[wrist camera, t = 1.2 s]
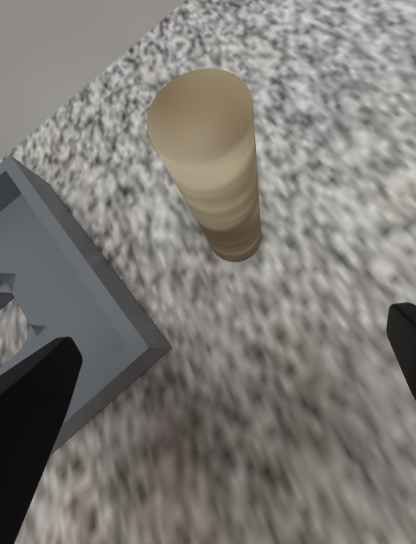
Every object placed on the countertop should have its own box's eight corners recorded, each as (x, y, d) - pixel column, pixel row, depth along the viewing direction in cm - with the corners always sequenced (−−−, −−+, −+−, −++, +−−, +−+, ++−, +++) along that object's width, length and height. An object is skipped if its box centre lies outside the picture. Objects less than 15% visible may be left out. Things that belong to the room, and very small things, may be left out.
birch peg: (247, 270, 22) (221, 175, 10) (202, 249, 23) (128, 142, 11) (269, 225, 23) (271, 82, 10) (224, 207, 24) (178, 59, 12)
